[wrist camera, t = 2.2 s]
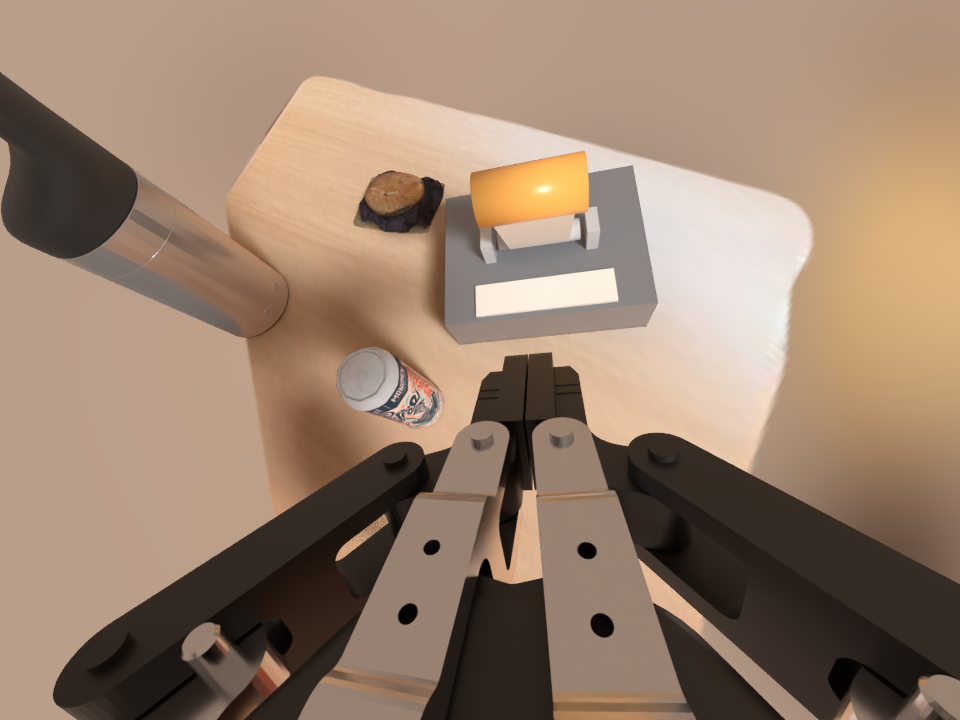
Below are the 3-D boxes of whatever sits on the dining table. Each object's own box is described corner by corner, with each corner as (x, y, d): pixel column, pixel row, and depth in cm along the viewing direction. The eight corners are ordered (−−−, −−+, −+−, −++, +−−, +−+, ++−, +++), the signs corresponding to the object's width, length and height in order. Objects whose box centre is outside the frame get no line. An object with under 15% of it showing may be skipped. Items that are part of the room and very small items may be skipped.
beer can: (428, 439, 36) (365, 421, 25) (391, 414, 38) (318, 387, 27) (454, 397, 37) (405, 361, 26) (417, 374, 39) (356, 331, 28)
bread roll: (353, 231, 47) (336, 212, 44) (377, 176, 49) (362, 153, 46) (428, 242, 44) (416, 222, 41) (450, 182, 46) (440, 159, 43)
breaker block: (646, 326, 35) (665, 288, 28) (459, 344, 39) (435, 314, 32) (625, 202, 39) (637, 142, 32) (459, 229, 43) (437, 181, 36)
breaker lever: (580, 248, 33) (600, 201, 19) (502, 259, 35) (465, 224, 20) (577, 213, 33) (595, 138, 18) (498, 225, 34) (458, 165, 20)
